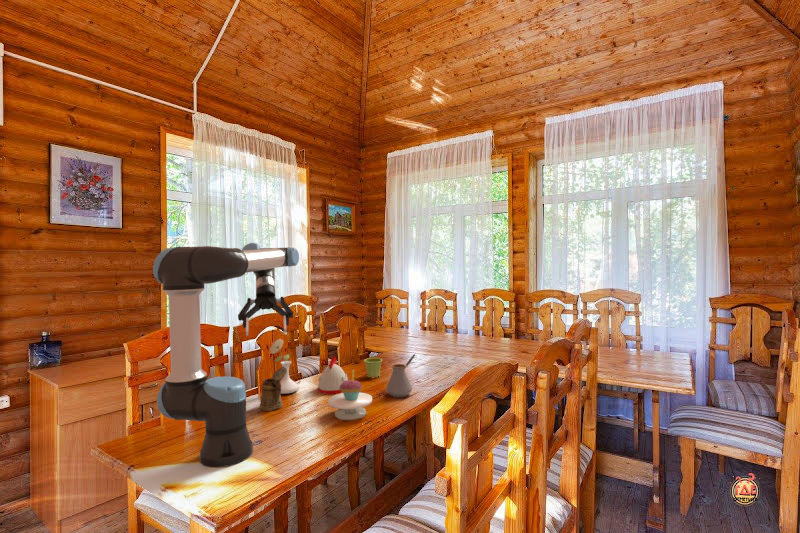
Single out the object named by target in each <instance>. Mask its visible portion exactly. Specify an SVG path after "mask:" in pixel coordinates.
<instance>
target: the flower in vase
mask: <svg viewBox="0 0 800 533" xmlns="http://www.w3.org/2000/svg"><path fill="white" fill-rule="evenodd" d="M283 345H284V339H281V338H278V339H276V340H275V341H274V343H273V344H271V347H270V349H269V353H270V354H273V355H274V354H276V353H278V352H279V353H280V355H281V356H280V355H279V356H278V357H276V358H275V359H274V362H279V361H280V360H283V361H280V364H281V368H282V367H285V368H286V369H287V371H286V374H285V376H284V377H283V378H282V379H281V380H280V383H281V393H280V394H281V395H284V394H291V393H295V392H296V391H298V390H299V389H300V385H299V384H298V383H296V381H294V380H293V379H291V378H290V375H289V371H290V370H289V369H290V365H291V363H292V361H291V360H288V359H289V358H290V352H289V353H287V354H286V355H284V356H283V354H282V352H281V349H282V347H283Z"/></svg>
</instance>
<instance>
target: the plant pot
mask: <svg viewBox="0 0 800 533" xmlns="http://www.w3.org/2000/svg"><path fill="white" fill-rule="evenodd" d="M363 362H364V364H365V370H366V375H367V378H370V377H376V378H379V377H380V374H381V368H382V367H381V366H382V362H383V359H382V358H380V357H370V358H365V359H363ZM378 376H379V377H378Z"/></svg>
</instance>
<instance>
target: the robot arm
mask: <svg viewBox="0 0 800 533" xmlns="http://www.w3.org/2000/svg"><path fill="white" fill-rule="evenodd" d="M299 260H300V254H299V251H298V249H297V248H296V247H289V246H287V247H265V248H264V247H261V246H259V244H257V243H255V242H250V243H249V242H248V243H247V244H246V245H244V246H243V247H242V249H241V248H237V247H232V248H230V247H220V246H209V245H206V246H205V245H204V246H175V247H169V248H165V249H163V250H162V251H160V252H159V253H158V255H156V257H155V260H154V261H153V265H152V272H153V276H154V278H155V279H156V281H157V282H158V283H159V284H161V285H162V291H163V293H165V294H166V295H167V296H168V310H169V311H168V313H169V314H168V315H169V349H170V350H169V351H170V352H169V353H170V373H169V374H168V375H167V376H166V378H165V382H164V383H163V384H162V385H161V386H160V388H159V390H160V391H158V392H157V397H156V403H157V409H158V410H159V412H160V414H161V415H162V416H164V418H168V419H173V420H176V421H191V422H193V421H194V422H197V421H198V422H204V424H205V434H204V439H203V442H202V444H201V449H200V451H199V462H200V464H201V465H203V466H204V467H209V468H222V467H223V468H224V467H229V466H232V465H235V464H239V463H242V462H243V461H245V460H247V459H249V457H251V456H252V454H253V452H254V444H253V441H252V439H251V437H250V433H249V430H248V427H247V393H246V384H245V383H244V381H243V379H241V378H238V377H235V376H227V375H224V376H215V377H210V378H208V375H207V374H208V373H207V372H206V371H205V370H203V369H202V338H201V311H200V310H201V309H200V308H201V305H200V304H201V302H200V295H201V293H202V292H203V291H204V290H205V285H206V284H207V285H210V284H214V283H219V282H224V281H228V280H232V279H237V278H241V277H243V276H245V274H247V273H252V272H253V274H254V276H255V299H251V297H248V298H247V300H246V303H245V304H244V306H243V308H241V310H240V311H239V313H238V314H237V320H238V321H240V322H241V321H242V328H244V329H245V336H246V337H248V336H249V326H250V325H249V324H250V323H249V319H250V318H251V317H252V316H254V315H255V314H256V313H257V312H259V311H260V310H262V311H263V310H264V311H265V310H273V311H275V312H276V313H277V314H279V315H280V316H281V317H283V334H287V326H289V324H290V319H291V318H293V317H294V312H293V310H292V308H291V307H290V306H289V305H288V304H287V302H286V301H285V297H284V296H280V298H277V297H276V280H275V278H276V277H275V276H276V275H275V274H276V268H282V267H283V268H284V267H289V268H290V267H296V266H297V265H298V264H299ZM253 304H254V306H253ZM280 305H281V306H280ZM251 306H253V307H251Z"/></svg>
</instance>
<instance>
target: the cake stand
mask: <svg viewBox="0 0 800 533" xmlns="http://www.w3.org/2000/svg"><path fill="white" fill-rule="evenodd" d="M372 403H373V396H372V395H371V394H369V393H366V392H361V391H360V392H359V395H358V398H357V399H356V400H353V401H348V400H346V399H345V397H344V394H343V392H342V393H338V394H333V395H331V396H330V397H329V398H328V400H327V404H328V406H329V407H331V408H333V409H337V410H335V411H334V417H335V418H336V419H338V420H341V421H354V420H355V421H357V420H359V419H362V418H364V417H365V416H366V415H367V410H366V408H364V407H367V406H369V405H371V404H372Z"/></svg>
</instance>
